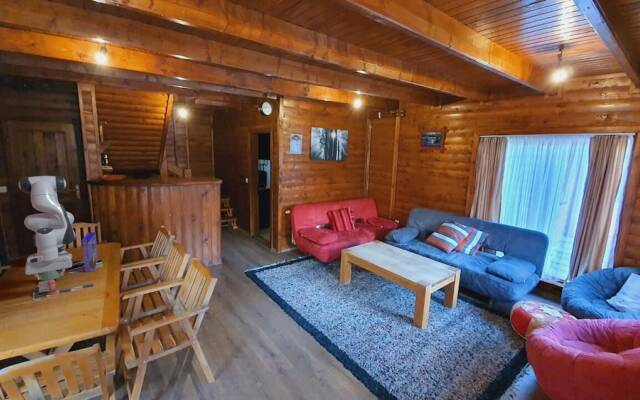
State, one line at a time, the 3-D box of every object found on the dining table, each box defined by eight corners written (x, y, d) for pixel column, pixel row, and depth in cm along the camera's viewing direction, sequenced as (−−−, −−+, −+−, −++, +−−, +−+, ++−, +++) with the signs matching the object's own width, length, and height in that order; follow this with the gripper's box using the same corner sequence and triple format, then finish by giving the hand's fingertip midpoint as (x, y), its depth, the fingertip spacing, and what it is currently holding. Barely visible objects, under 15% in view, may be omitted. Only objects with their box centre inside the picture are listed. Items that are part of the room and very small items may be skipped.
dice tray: (34, 289, 175) (34, 287, 175) (56, 285, 182) (56, 283, 182) (33, 296, 168) (32, 294, 168) (56, 291, 175) (56, 289, 174)
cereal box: (93, 271, 204) (90, 239, 199) (85, 272, 201) (82, 239, 197) (98, 262, 218) (95, 231, 214) (90, 263, 216) (87, 232, 212)
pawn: (48, 293, 172) (46, 279, 170) (57, 291, 174) (55, 277, 173) (48, 296, 169) (46, 281, 167) (57, 294, 171) (55, 280, 170)
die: (39, 289, 175) (38, 282, 174) (51, 287, 178) (50, 280, 178) (39, 293, 172) (38, 285, 171) (50, 290, 175) (49, 283, 174)
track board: (33, 297, 168) (33, 296, 168) (93, 284, 186) (93, 283, 186) (32, 300, 164) (32, 299, 164) (94, 287, 183) (94, 286, 182)
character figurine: (29, 287, 178) (25, 259, 175) (33, 281, 185) (29, 255, 182) (63, 281, 187) (60, 255, 184) (65, 276, 194) (62, 251, 190)
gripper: (71, 250, 176) (73, 271, 179) (24, 257, 163) (27, 279, 166) (71, 253, 172) (74, 275, 175) (23, 261, 158) (26, 284, 161)
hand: (50, 277), depth 170 cm, fingers open, 8 cm apart
